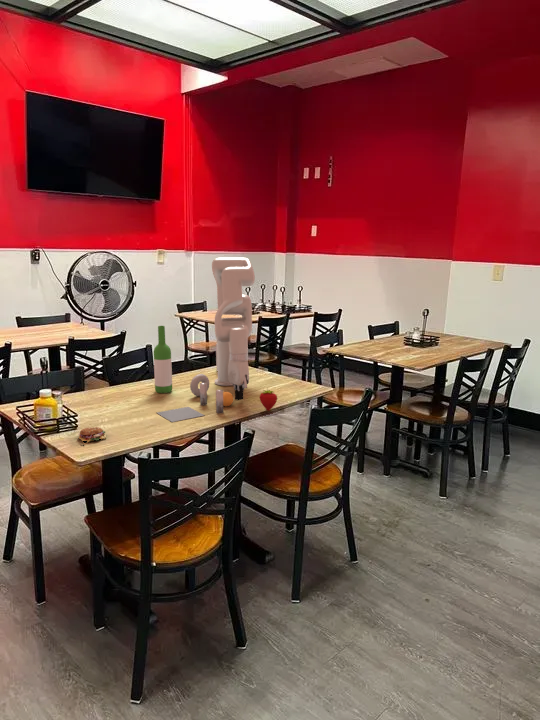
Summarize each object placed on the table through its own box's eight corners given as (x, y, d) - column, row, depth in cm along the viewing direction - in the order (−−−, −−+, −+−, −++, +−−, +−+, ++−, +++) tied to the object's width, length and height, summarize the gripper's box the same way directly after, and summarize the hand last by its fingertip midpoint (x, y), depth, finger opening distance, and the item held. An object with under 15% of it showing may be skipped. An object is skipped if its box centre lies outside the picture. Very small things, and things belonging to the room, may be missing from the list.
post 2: (221, 410, 214) (220, 389, 212) (224, 412, 212) (224, 390, 210) (215, 412, 213) (214, 390, 211) (218, 413, 210) (218, 391, 209)
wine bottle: (174, 389, 246) (172, 325, 240) (168, 394, 238) (166, 327, 232) (158, 388, 247) (156, 324, 241) (152, 393, 240) (149, 327, 233)
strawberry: (272, 414, 210) (273, 389, 208) (256, 411, 214) (256, 387, 212) (280, 410, 215) (280, 386, 213) (263, 407, 219) (263, 384, 217)
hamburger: (63, 440, 183) (61, 423, 182) (103, 432, 191) (102, 416, 190) (76, 452, 172) (74, 434, 171) (118, 443, 180) (117, 426, 179)
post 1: (205, 403, 225) (204, 382, 223) (208, 404, 223) (207, 383, 221) (199, 404, 223) (198, 383, 221) (202, 405, 221) (201, 384, 219)
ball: (218, 389, 220) (214, 403, 220) (227, 392, 216) (223, 406, 216) (228, 391, 225) (225, 405, 225) (238, 394, 220) (234, 408, 220)
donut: (193, 399, 231) (193, 376, 229) (188, 397, 233) (188, 375, 231) (211, 394, 238) (210, 372, 236) (206, 393, 240) (205, 371, 238)
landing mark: (188, 407, 219) (188, 406, 219) (204, 415, 208) (204, 415, 208) (156, 413, 211) (156, 412, 211) (171, 422, 200) (171, 421, 200)
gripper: (221, 355, 225) (222, 397, 229) (241, 361, 213) (241, 405, 217) (236, 353, 229) (237, 394, 233) (256, 358, 217) (256, 402, 221)
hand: (239, 399), depth 225 cm, fingers closed
